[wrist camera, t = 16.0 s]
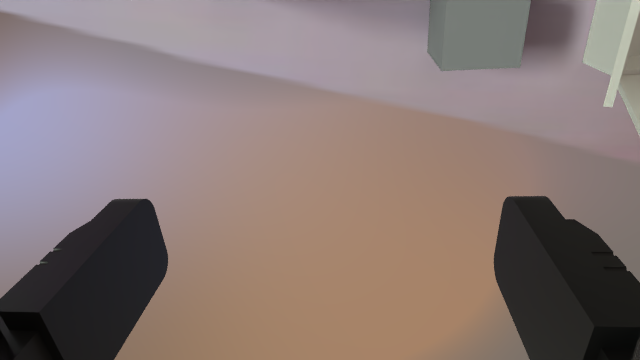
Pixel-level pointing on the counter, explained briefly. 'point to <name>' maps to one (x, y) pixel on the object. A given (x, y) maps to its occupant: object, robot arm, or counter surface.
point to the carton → (617, 51)
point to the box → (477, 33)
